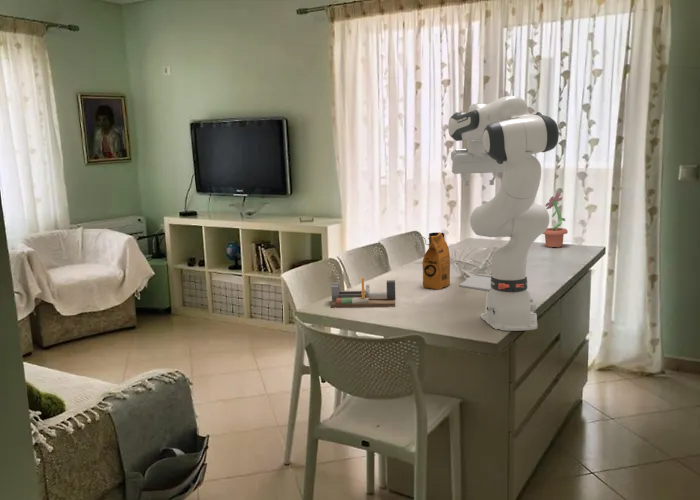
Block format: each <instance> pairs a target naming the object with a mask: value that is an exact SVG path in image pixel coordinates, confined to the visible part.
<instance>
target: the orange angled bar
mask: <svg viewBox="0 0 700 500" xmlns="http://www.w3.org/2000/svg"><path fill="white" fill-rule="evenodd" d="M365 290H366V288H365V278H364V277H361V291H362V298H365Z"/></svg>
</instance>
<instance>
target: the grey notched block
mask: <svg viewBox="0 0 700 500" xmlns="http://www.w3.org/2000/svg"><path fill="white" fill-rule="evenodd" d="M365 291H366V293H365V294H366V297H369V299H395V300H396V280H394V279H393V280H392V279H391V280H386V291H385V292H383V291H382V292H370V291H371V289H370V284H366V285H365ZM361 294H362V293H361Z"/></svg>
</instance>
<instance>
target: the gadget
mask: <svg viewBox="0 0 700 500" xmlns="http://www.w3.org/2000/svg"><path fill="white" fill-rule="evenodd" d="M491 276H492V274H489V273H487V274H486V273H485V274H484V273H479V274H478V273H475V274H471V276H469V277H468V278H467V279H465V280H463V281H462V282H461V283H460V284H459V285H458V287H459V288H460V287H461V288H465V289H471V290H473V289H474V290H478V291H479V290H480V291H484V292H489V291H490V289H491V288H492V287H491Z"/></svg>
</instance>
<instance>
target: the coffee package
mask: <svg viewBox="0 0 700 500" xmlns="http://www.w3.org/2000/svg"><path fill="white" fill-rule="evenodd" d="M437 233H438V235H437V236H430V237H429V236H428V239H427V240H428V241H429V240H431V243H430V245H428V248H427V250H426V252H425V253H424V254H425V255H424V254H423V258H422V285H423V288H424V289H429V290H439V291H440V290H442V289H443V288H444V287H445V288H446V287H448V286H449V285H450V284H451V278H450V277H451V260H450V259H451V258H450V257H451V256H450V249H449V246H448V243H447V241H446V238H445V236H444V237H443V236H442V233H443V232H437ZM444 238H445V239H444Z"/></svg>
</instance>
